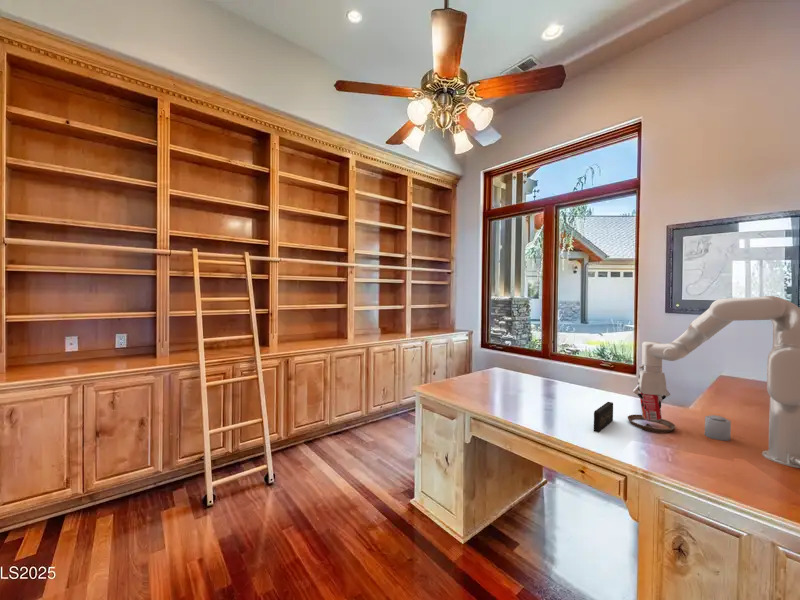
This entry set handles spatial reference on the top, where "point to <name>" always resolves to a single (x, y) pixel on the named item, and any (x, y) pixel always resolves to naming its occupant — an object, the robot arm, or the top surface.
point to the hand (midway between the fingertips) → (651, 408)
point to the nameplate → (603, 416)
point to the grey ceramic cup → (718, 428)
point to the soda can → (651, 408)
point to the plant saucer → (650, 428)
